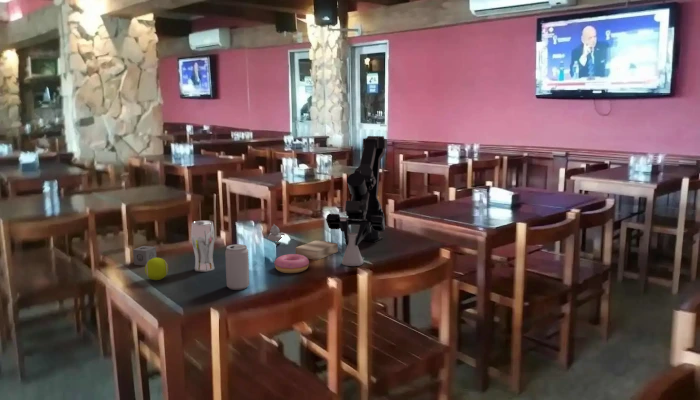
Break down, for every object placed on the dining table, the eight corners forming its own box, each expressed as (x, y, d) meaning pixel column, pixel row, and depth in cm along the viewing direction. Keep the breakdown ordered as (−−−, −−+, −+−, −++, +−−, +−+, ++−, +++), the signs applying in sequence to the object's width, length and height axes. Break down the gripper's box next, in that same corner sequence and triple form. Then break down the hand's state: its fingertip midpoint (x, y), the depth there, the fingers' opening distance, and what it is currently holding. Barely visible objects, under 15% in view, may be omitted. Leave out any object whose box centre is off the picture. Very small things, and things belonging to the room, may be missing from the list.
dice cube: (144, 260, 197) (143, 245, 196) (156, 261, 195) (155, 247, 194) (134, 264, 192) (132, 249, 191) (146, 265, 190) (145, 250, 189)
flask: (364, 260, 195) (364, 231, 193) (362, 267, 188) (362, 236, 186) (342, 260, 196) (342, 230, 194) (340, 266, 188) (340, 236, 187)
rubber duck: (264, 243, 217) (264, 222, 215) (280, 241, 221) (280, 220, 219) (272, 247, 212) (271, 225, 211) (288, 244, 216) (287, 222, 215)
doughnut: (316, 269, 186) (316, 257, 185) (287, 277, 179) (287, 263, 178) (295, 262, 194) (295, 250, 193) (267, 269, 187) (267, 256, 186)
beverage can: (228, 283, 172) (226, 243, 170) (250, 283, 173) (248, 243, 170) (225, 291, 166) (223, 249, 164) (248, 290, 166) (247, 249, 164)
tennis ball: (145, 277, 178) (143, 256, 177) (168, 275, 180) (166, 253, 179) (146, 284, 172) (144, 262, 171) (170, 281, 174) (168, 259, 173)
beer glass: (220, 267, 188) (218, 221, 186) (208, 273, 182) (205, 225, 179) (201, 265, 191) (198, 219, 188) (188, 271, 184) (186, 224, 182)
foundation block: (316, 248, 210) (316, 240, 210) (337, 251, 206) (337, 243, 205) (295, 256, 200) (295, 247, 200) (317, 260, 196) (317, 251, 195)
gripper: (327, 189, 193) (318, 230, 185) (383, 191, 189) (377, 233, 180) (333, 208, 202) (325, 248, 194) (387, 210, 198) (381, 251, 189)
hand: (351, 244), depth 189 cm, fingers closed on flask, 3 cm apart
